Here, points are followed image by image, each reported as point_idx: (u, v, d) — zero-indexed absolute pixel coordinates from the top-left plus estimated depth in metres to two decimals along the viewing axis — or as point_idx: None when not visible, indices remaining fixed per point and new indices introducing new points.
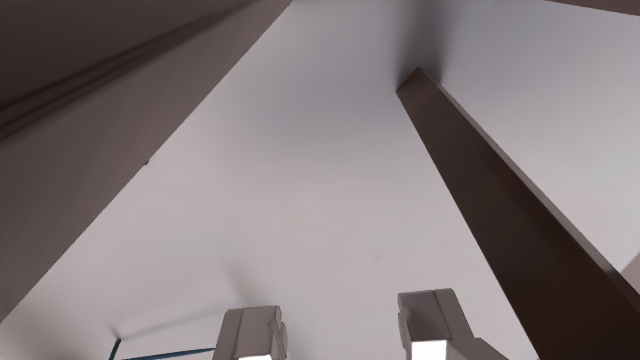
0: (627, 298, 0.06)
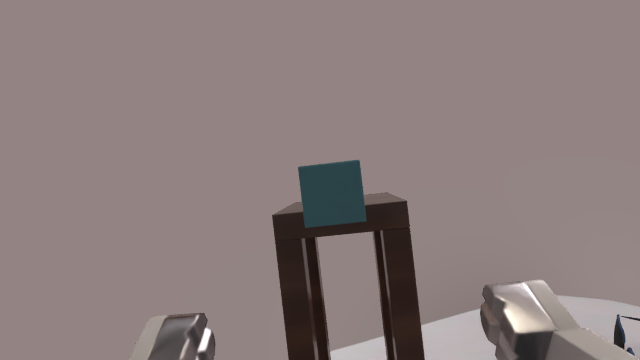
0: (379, 281, 0.36)
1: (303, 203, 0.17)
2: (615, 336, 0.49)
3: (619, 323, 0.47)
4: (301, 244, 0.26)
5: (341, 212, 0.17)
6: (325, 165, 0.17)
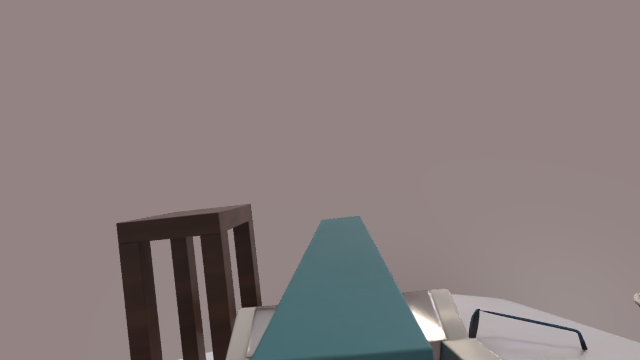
0: None
1: None
2: None
3: (472, 316, 0.54)
4: (138, 246, 0.34)
5: None
6: None
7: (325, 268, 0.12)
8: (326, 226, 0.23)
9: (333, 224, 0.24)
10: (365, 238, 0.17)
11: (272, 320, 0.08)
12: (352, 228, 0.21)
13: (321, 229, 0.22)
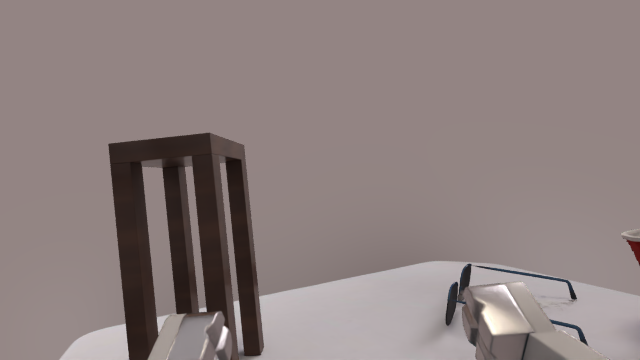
0: None
1: None
2: None
3: (463, 268, 0.54)
4: (130, 166, 0.34)
5: None
6: None
7: None
8: None
9: None
10: None
11: None
12: None
13: None
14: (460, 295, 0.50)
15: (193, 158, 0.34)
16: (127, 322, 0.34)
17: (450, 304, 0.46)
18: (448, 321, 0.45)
